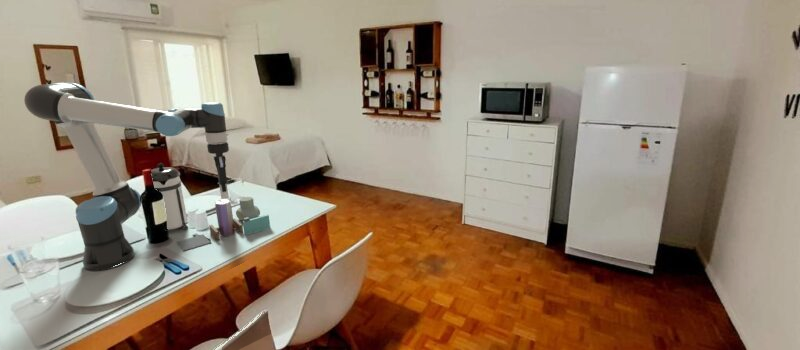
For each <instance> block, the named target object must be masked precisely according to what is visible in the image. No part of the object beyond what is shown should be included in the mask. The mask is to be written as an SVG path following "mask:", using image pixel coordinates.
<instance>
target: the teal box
mask: <svg viewBox="0 0 800 350" xmlns="http://www.w3.org/2000/svg"><path fill="white" fill-rule="evenodd" d="M243 220H244V221H242V227H243V234H244V235H245V236H247V235H250V234H254V233H257V232H259V231H264V230H267V229H270V228H271V222H270V215H269V214H264V215H261V216H260V215H259V216H258V217H257V218H253V219H250V218H249V217H246V218H243Z"/></svg>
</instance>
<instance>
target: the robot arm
mask: <svg viewBox="0 0 800 350" xmlns="http://www.w3.org/2000/svg"><path fill="white" fill-rule="evenodd" d="M24 104H25V107H26V109H27V110H28V112H30V113H31V115H33V116H34V117H37V118H38V119H41V120H46V121H53V122H54V123H55V125H56V126H58V127H59V128H60V127H61V128H63V130H64V131H65V133H66V135H67V137H68V139H69V140H70V144H71V145H72V147H73V148H74V150H75V153H76V154H77V156H78V158H79V161H80V162H81V164H82V166H83V168H84V170H85V172H86V174H87V176H88V177H89V180H90V181H91V182H90V183H92V185H93V188H94V190H93V192H92V196H93V197H92V198H90V199H86V200H84V201H82V202H80V203H79V204H78V205H77V206H76V208H75V215H76V216H75V218H76V219H75V220H76V221H77V224H78V228H79V231H80V233H81V237H82V240H83V244H84V252H83V258H82V264H83V268H84V270H87V271H92V272H97V271H106V270H109V269H108V268H110V269H112V268H111V267H113V266H115V265H118V264H120V263H123V262H126V261H128V262H130V261H131V260H132V259H133V258H134V257H135V251H134V250H135V249H134V247H133V245H132V244H131V243H130V242H129V241H128V239H127V238H126V237H125V234H124V230H123V229H124V228H123V223H125V222H126V221H127V220H129V219H130V218H132V217H133V216H134V215H136V213H137V212H138V211H139V210H140V208H141V206H142V201H141V202H140V196H141V195H140V193H139V191H137V190H136V189H134V188H132V187H131V186H130V185H129V183H128V182H127V181H124V180H122V179H121V177H120V175H119V173H118V171H117V169H116V166H115V164H114V163H113V160H112V159H111V157H110V155H109V152H108V150H107V148H106V146H105V144H104V142H103V140H102V138H101V135H100V134H99V132H98V129H97V127H96V126H95V124H98V125H104V126H105V125H106V126H113V127H118V128H119V127H120V128H125V129H127V128H128V129H133V130H141V131H148V132H155V133H160V134H161V135H163V136H165V137H175V136H178V135H180V134H181V133H183V132H186V131H187V130H189V129H203V128H204V134H205V141H206V143H207V144H206V147H207V153H208V154H213V155H215V156H213V160H214V164H215V167H216V172H217V179H218V182H217V185H219V193H220V200H222V199H230V198H229V190H228V189H229V188H228V181H229V180H228V178H227V170H226V167H227V164H226V156H225V155H224V153H228V152H229V150H230V147H229V142H228V136H229V135H230V134H229V133H228V132H227V128H226V127H227V126H226V114H225V112H224V111H225V110H224V107H223V104H222V103H221V102H217V101H216V102H215V101H214V102H213V101H211V102H203V103H201V107H198V108H196V107H195V108H193V107H191V108H189V107H188V108H186V107H185V108H183V107H182V108H181V107H177V108H170V109H168V110H167V111H166V110H165V111H164V110H158V109H151V108H145V107H139V106H134V105H126V104H119V103H115V102H114V103H113V102H107V101H101V100H100V101H99V100H95V99H94V95H93V94H92V93H91V91H89V89H87V88H86V87H85V86H83V85H81V84H78V83H74V82H67V81H66V82H65V81H64V82H56V83H50V84H49V83H48V84H47V83H45V84H39V85H35V86H33V87H31V88H30V89H29V90H28V91H27V92H26V93H25V95H24ZM126 263H127V262H126ZM105 269H106V270H105Z"/></svg>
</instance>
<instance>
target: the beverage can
mask: <svg viewBox="0 0 800 350" xmlns="http://www.w3.org/2000/svg"><path fill="white" fill-rule="evenodd" d="M214 205H215V206H214V207H215V212H216V219H217V225H218V226H217V227H219V236H221V237H223V238H225V237H230V236H233V235H234V234H235V233H236V229H235V228H234V221H233V219H234V216H233V208H232V202H231V200H230V199H229V198H227V199H219V200H216V201H215V203H214Z"/></svg>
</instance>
